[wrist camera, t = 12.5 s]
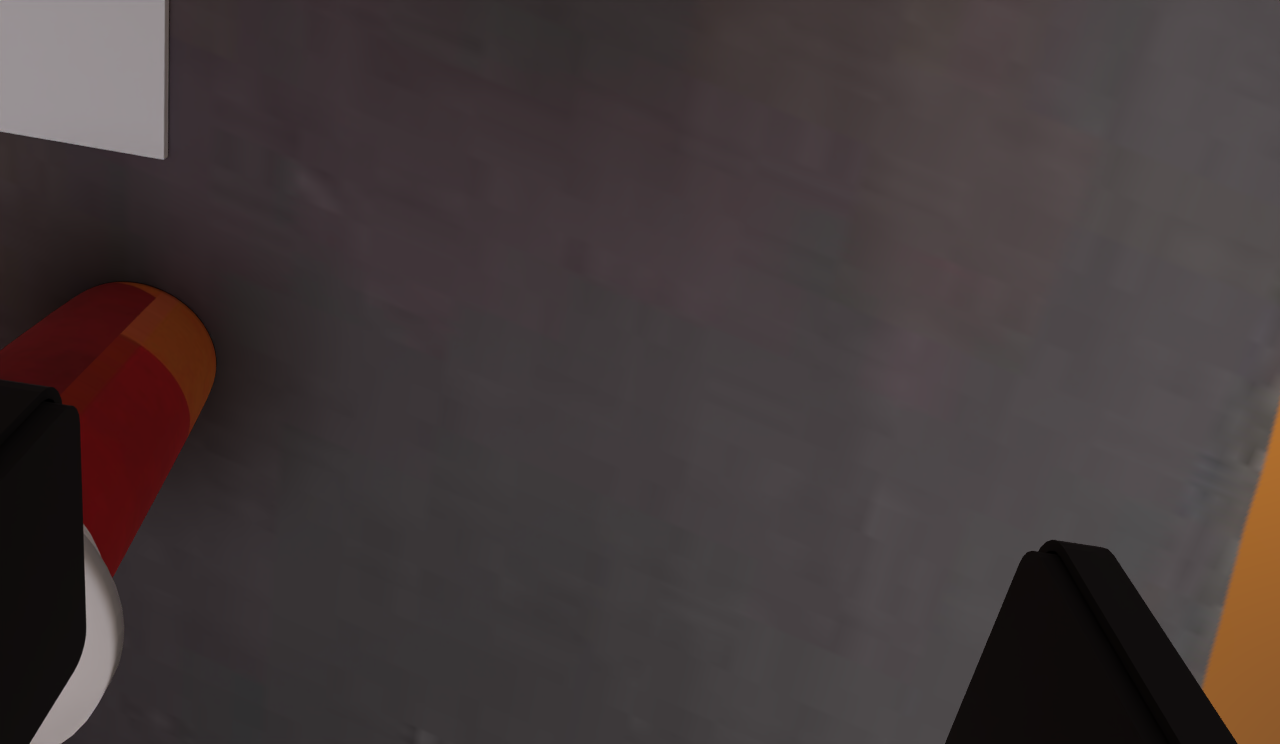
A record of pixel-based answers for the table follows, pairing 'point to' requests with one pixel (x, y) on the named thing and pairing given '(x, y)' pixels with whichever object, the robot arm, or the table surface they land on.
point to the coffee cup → (120, 395)
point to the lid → (89, 654)
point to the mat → (87, 73)
